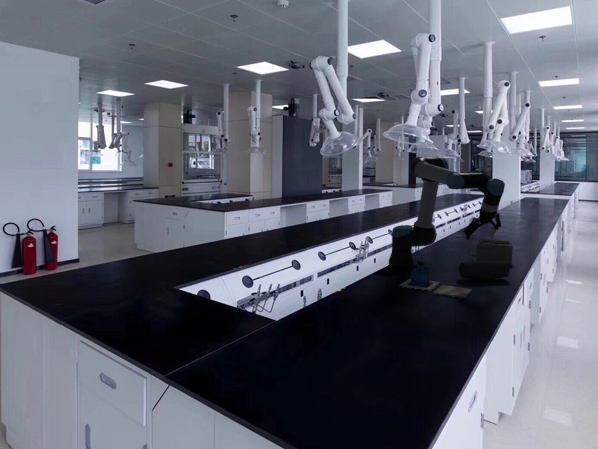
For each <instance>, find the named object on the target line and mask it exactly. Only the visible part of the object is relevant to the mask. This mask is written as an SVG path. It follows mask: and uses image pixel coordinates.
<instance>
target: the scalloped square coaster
mask: <svg viewBox="0 0 598 449" xmlns="http://www.w3.org/2000/svg"><path fill="white" fill-rule="evenodd" d="M409 283H410V284H409ZM429 283H430V284H429V286H428V287H419V286H412V285H411V277H410V278H409V279H407V280H405V281H404V282H402V283H400V284H399V287H400V286H402V287H401V288H404V287H407V288H406V289H411V288H414V289H413V290H417V289H421V290H420V291H424V290H427V291H426V292H431V291H433V290H434V289H436V288H437V287H438V286H440V285H441V284H440V283H441V282H440V281H434V280H429ZM436 286H437V287H436ZM432 289H433V290H432Z"/></svg>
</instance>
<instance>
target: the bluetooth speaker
mask: <svg viewBox="0 0 598 449" xmlns="http://www.w3.org/2000/svg"><path fill="white" fill-rule="evenodd" d="M458 270H459V271H458V273H459V276H460V277H461V278H462V279H468V280H470V279H471V280H473V281H478V282H479V281H480V282H481V281H482V282H485V281H494V280H495V279H501V278H502V279H505V278H508V277H509V276H510V273H511V272H510V264H508V263H507V262H505V261H476V260H473V261H471V260H470V261H462V262H460V264H459V267H458Z"/></svg>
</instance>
